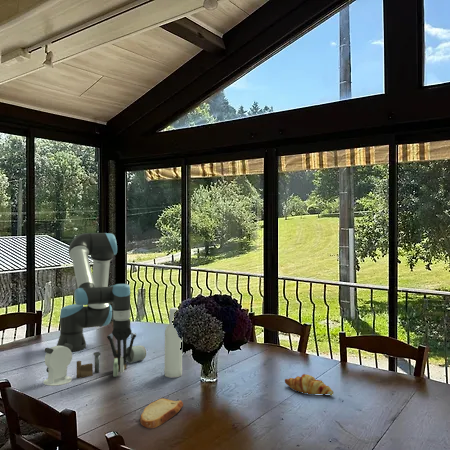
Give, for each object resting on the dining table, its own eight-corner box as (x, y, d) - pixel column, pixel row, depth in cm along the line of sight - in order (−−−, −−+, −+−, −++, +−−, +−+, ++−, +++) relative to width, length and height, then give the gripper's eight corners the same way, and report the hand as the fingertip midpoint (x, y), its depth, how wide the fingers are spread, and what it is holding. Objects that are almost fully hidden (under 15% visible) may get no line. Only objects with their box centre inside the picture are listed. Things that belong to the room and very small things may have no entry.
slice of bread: (144, 431, 146) (144, 419, 146) (131, 410, 163) (131, 399, 163) (195, 421, 154) (195, 410, 154) (178, 402, 170) (178, 392, 170)
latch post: (93, 372, 202) (93, 352, 202) (98, 371, 204) (98, 351, 204) (95, 373, 200) (95, 353, 200) (100, 372, 202) (100, 353, 202)
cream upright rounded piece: (62, 374, 199) (63, 341, 199) (78, 379, 193) (78, 345, 193) (38, 382, 190) (38, 346, 190) (53, 387, 183) (54, 351, 183)
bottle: (166, 371, 204) (166, 306, 204) (183, 372, 204) (183, 306, 204) (163, 377, 196) (163, 309, 196) (180, 378, 196) (181, 310, 196)
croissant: (335, 403, 178) (339, 383, 181) (328, 399, 170) (332, 377, 173) (287, 391, 189) (291, 372, 192) (278, 386, 182) (282, 367, 185)
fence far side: (75, 377, 196) (76, 361, 196) (91, 374, 200) (91, 358, 200) (77, 378, 194) (77, 362, 194) (92, 375, 198) (92, 359, 198)
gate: (114, 370, 204) (114, 358, 204) (118, 370, 204) (118, 358, 204) (113, 376, 195) (113, 363, 195) (117, 376, 196) (117, 363, 196)
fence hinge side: (112, 370, 206) (113, 349, 206) (124, 367, 209) (124, 347, 209) (114, 371, 204) (114, 350, 204) (126, 369, 207) (126, 348, 207)
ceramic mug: (147, 360, 220) (147, 345, 220) (133, 364, 214) (133, 348, 214) (134, 356, 227) (134, 341, 227) (121, 360, 221) (121, 344, 222)
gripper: (105, 321, 194) (106, 375, 194) (135, 320, 195) (136, 374, 195) (108, 317, 201) (108, 369, 201) (137, 316, 202) (137, 368, 203)
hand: (122, 371), depth 198 cm, fingers closed
